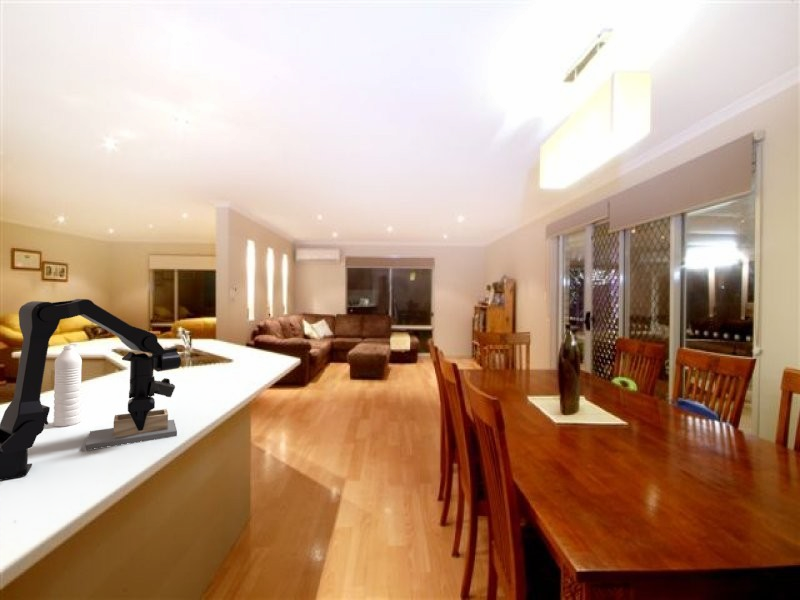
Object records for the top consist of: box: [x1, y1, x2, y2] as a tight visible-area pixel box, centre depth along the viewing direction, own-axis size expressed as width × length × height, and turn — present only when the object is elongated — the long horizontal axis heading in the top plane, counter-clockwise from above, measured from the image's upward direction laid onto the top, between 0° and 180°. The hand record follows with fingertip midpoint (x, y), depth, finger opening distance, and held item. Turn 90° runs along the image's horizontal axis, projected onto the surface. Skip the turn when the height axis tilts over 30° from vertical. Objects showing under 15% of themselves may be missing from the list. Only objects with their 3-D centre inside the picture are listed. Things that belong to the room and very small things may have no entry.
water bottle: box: [53, 342, 83, 428], centre depth 122 cm, size 9×6×25 cm
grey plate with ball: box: [84, 419, 178, 451], centre depth 112 cm, size 12×21×4 cm, turn 124°
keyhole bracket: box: [113, 408, 169, 438], centre depth 113 cm, size 6×13×4 cm, turn 124°
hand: (140, 426), depth 113 cm, fingers closed on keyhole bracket, 6 cm apart
